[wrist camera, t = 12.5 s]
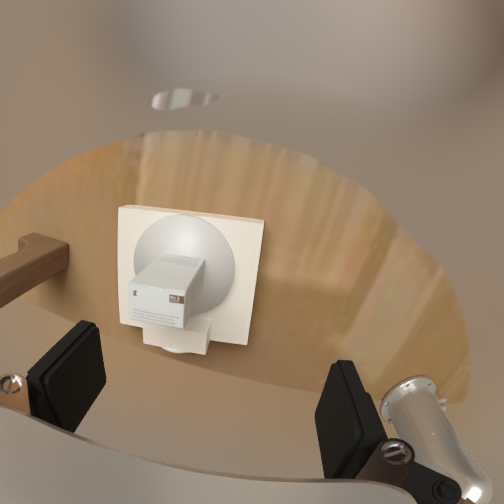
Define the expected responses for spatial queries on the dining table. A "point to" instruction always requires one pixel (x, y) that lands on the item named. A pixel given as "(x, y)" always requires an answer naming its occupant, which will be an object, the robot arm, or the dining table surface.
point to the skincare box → (166, 290)
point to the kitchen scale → (215, 271)
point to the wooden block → (31, 265)
